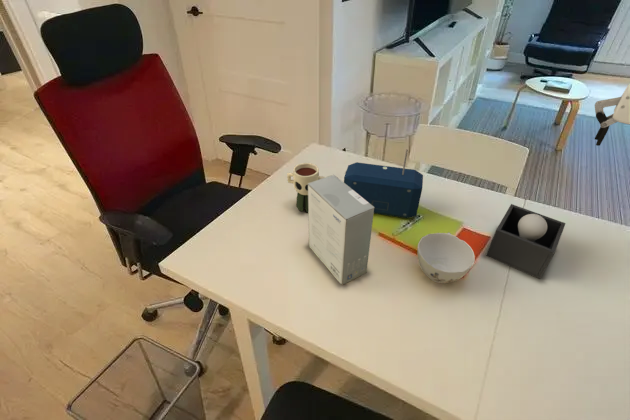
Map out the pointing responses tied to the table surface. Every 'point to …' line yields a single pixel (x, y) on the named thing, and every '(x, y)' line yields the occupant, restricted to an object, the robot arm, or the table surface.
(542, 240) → the bin
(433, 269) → the teacup
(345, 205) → the hard drive box
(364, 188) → the radio
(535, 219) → the lightbulb
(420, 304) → the table surface
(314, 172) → the character mug
